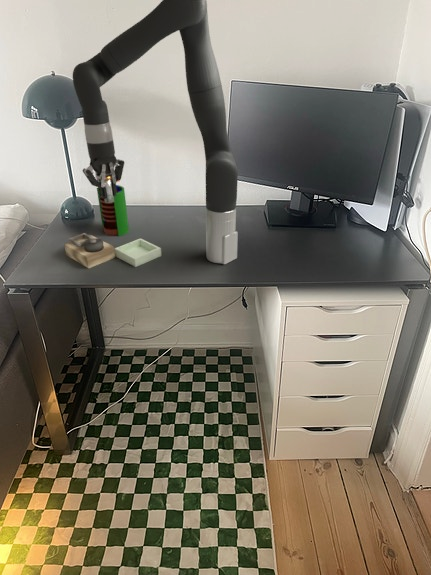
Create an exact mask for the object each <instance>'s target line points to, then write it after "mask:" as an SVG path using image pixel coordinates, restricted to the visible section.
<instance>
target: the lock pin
mask: <svg viewBox="0 0 431 575" xmlns="http://www.w3.org/2000/svg"><path fill="white" fill-rule="evenodd" d="M104 187H105V188H106V194H107V199H104V200H105V203H112V202H114V197H113V191H112V185H111V176H110V175H107V174H106V175H105V186H104Z"/></svg>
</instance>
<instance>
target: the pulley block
mask: <svg viewBox="0 0 431 575" xmlns="http://www.w3.org/2000/svg"><path fill="white" fill-rule="evenodd" d="M114 248H115V246H113V245H112V244H109V243H108V242H105V241H104V240H102V239H101V238H98V237H96V236H94V235H92V234H87V233H86V232H83V233H80V234H77V235H75V236H71V237H69V238H68V242H66V243H64V249H65V255H66V256H67V257H69V258H70V259H72V260H74V261H75V262H77V263H79V264H80V265H82V266H84V267H85V268H87V269H91V268H93V267H95V266H96V267H97V266H98V265H100V264H103V263H106V262H108V261H110V260H112V259H116V256H115V249H114Z"/></svg>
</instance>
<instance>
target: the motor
mask: <svg viewBox="0 0 431 575" xmlns="http://www.w3.org/2000/svg"><path fill="white" fill-rule="evenodd" d="M120 181H121V180H118V181H117V182H120ZM117 182H116V183H117ZM116 188H117V193H116V196H113V197H114V202H112V203H105V200H104V199H103V198H102V197H100V195H99V189H98V187H96V191H97V199H98V205H99V211H100V219H101V225H102V230H103V232H104V234H105V235H107V236H118V237H121V236H124V235H126V234H128V233H129V231H130V228H129V218H128V209H127V203H126V202H127V200H126V192H125V188H124V186H122V185H119V184H116Z"/></svg>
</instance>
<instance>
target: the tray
mask: <svg viewBox="0 0 431 575" xmlns="http://www.w3.org/2000/svg"><path fill="white" fill-rule="evenodd" d="M114 253H115V258H118V259H120V260H122V261H124V262H125V263H127V264H129V265H131V266H132V267H135V268H137V267H139V266H141V265H144V264H146V263H149V262H150V261H152V260H155V259H157V258H160V257H162V248H161V247H159V246H158V245H155V244H153V243H151V242H149V241H147V240H145V239H143V238H138V239H135V240H133V241H130V242H128V243H125V244H123V245H120V246H117V247H114Z"/></svg>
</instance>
